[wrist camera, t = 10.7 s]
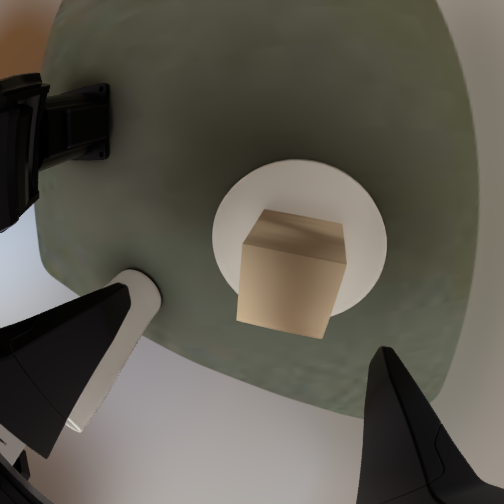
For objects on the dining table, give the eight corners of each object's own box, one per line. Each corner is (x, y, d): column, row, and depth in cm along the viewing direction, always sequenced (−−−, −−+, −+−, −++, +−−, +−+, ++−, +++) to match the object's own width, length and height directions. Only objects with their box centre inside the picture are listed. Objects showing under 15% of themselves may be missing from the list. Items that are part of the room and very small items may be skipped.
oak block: (256, 274, 20) (236, 320, 16) (264, 208, 17) (242, 243, 13) (325, 288, 19) (321, 338, 15) (342, 223, 16) (347, 264, 12)
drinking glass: (159, 261, 23) (42, 392, 10) (178, 320, 26) (97, 445, 13) (106, 258, 25) (1, 357, 12) (127, 311, 28) (47, 411, 15)
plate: (216, 294, 23) (211, 301, 22) (221, 147, 17) (215, 149, 16) (356, 323, 21) (356, 331, 20) (404, 180, 15) (408, 184, 14)
